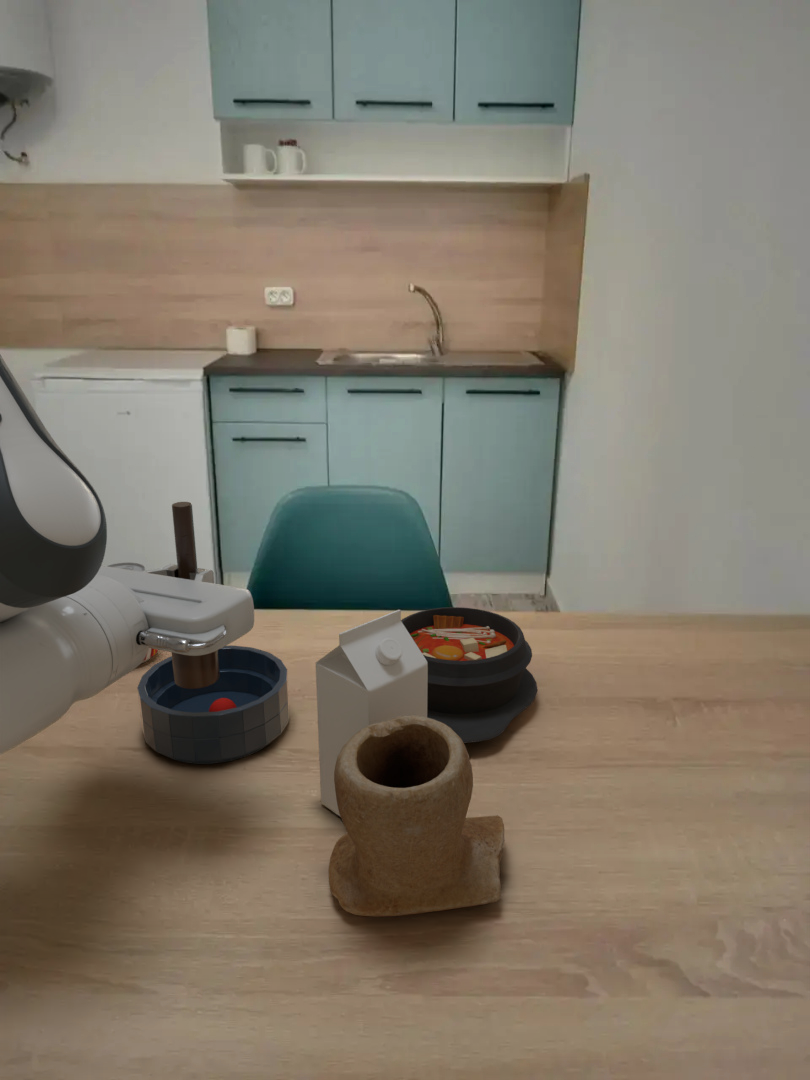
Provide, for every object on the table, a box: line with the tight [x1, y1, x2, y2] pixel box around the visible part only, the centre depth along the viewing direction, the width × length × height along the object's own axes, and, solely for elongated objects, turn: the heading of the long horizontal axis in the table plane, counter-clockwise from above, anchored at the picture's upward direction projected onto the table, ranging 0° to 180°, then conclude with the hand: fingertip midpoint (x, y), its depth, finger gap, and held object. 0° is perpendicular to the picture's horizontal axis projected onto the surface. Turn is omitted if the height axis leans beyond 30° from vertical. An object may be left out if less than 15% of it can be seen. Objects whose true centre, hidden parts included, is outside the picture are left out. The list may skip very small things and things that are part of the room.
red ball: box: [209, 698, 237, 712], centre depth 90 cm, size 3×3×3 cm
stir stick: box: [170, 501, 220, 689], centre depth 80 cm, size 4×4×18 cm
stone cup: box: [328, 716, 506, 917], centre depth 65 cm, size 15×12×15 cm
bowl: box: [136, 645, 290, 765], centre depth 90 cm, size 16×16×6 cm
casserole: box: [401, 606, 538, 744], centre depth 96 cm, size 25×19×8 cm
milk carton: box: [315, 609, 428, 818], centre depth 75 cm, size 7×7×19 cm
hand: (193, 574), depth 80 cm, fingers closed on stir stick, 2 cm apart
